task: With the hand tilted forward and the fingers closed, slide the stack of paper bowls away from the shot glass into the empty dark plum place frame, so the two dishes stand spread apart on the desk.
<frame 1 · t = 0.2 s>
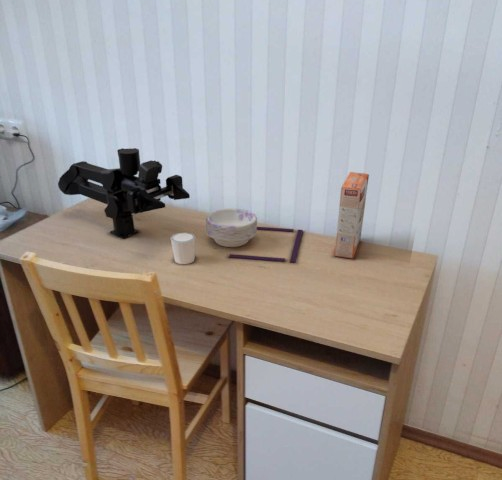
hand: (177, 200, 145), 17 cm above the table, tool horizontal, fingers open, 9 cm apart
cracker box: (348, 248, 158), on the table
place frame: (262, 243, 161), on the table
paper bowls: (231, 241, 162), on the table
shot glass: (184, 260, 152), on the table
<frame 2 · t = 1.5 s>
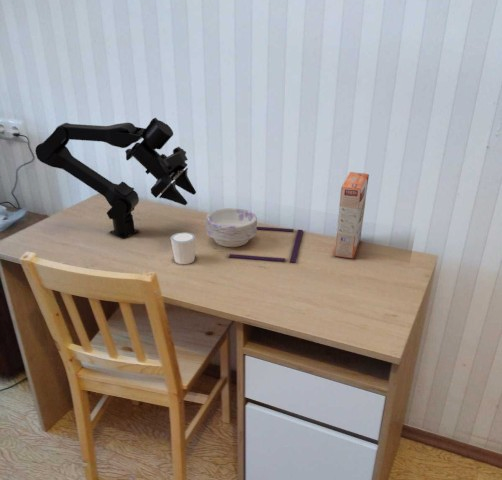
hand: (190, 198, 157), 13 cm above the table, tool tilted 45°, fingers open, 9 cm apart
nothing on the table moved.
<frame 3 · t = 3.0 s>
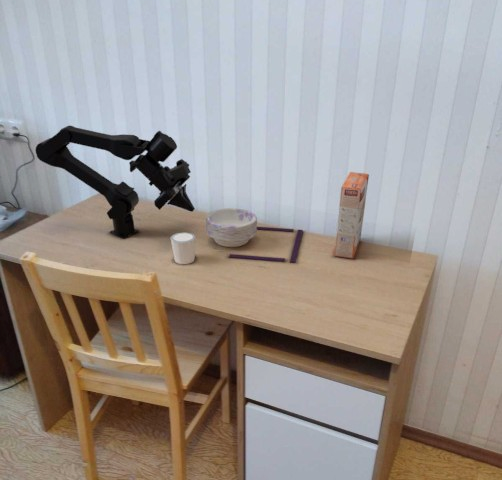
hand: (193, 210, 159), 9 cm above the table, tool tilted 45°, fingers closed
nothing on the table moved.
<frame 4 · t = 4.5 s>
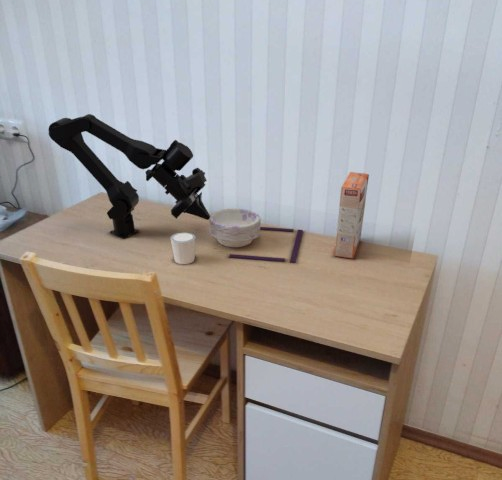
hand: (209, 218, 160), 7 cm above the table, tool tilted 45°, fingers closed, pressing on paper bowls
paper bowls: (235, 241, 162), on the table, touching gripper
everything else where it was.
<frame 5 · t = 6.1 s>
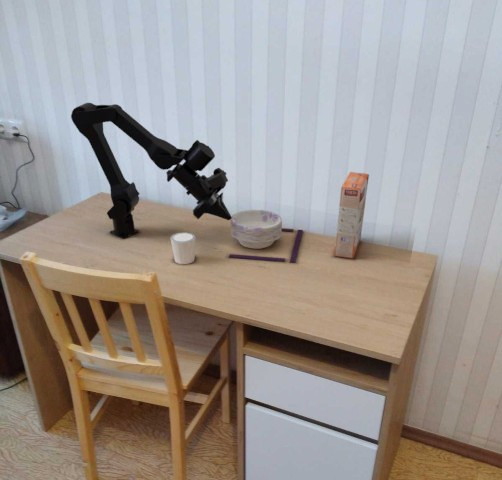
hand: (230, 218, 158), 7 cm above the table, tool tilted 45°, fingers closed, pressing on paper bowls
paper bowls: (256, 243, 161), on the table, touching gripper
everything else where it was.
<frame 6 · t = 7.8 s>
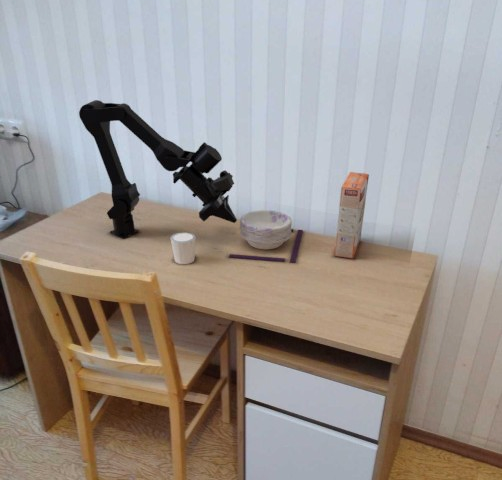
hand: (235, 221, 159), 6 cm above the table, tool tilted 45°, fingers closed
paper bowls: (265, 243, 161), on the table
everything else where it was.
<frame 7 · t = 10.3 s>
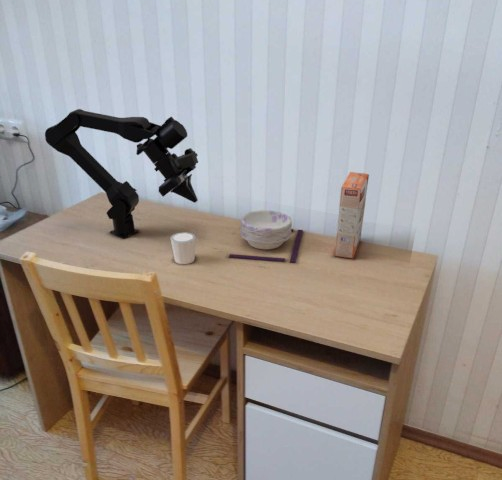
hand: (196, 201, 156), 12 cm above the table, tool tilted 40°, fingers closed
nothing on the table moved.
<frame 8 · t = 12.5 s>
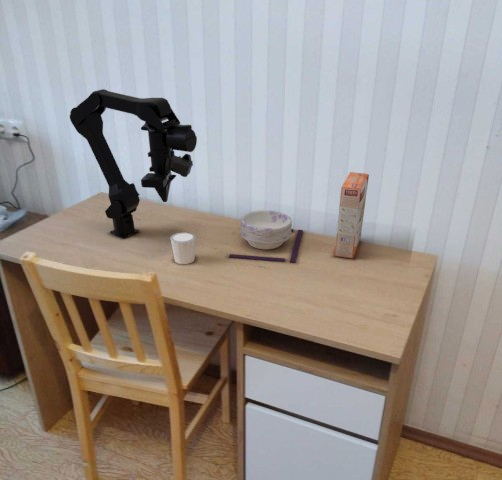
hand: (165, 201, 155), 13 cm above the table, tool pointing down, fingers closed
nothing on the table moved.
at the end: paper bowls inside the target area (0.6 cm from its centre), on the table; paper bowls tilted 0°; shot glass moved 0.2 cm from its start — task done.
